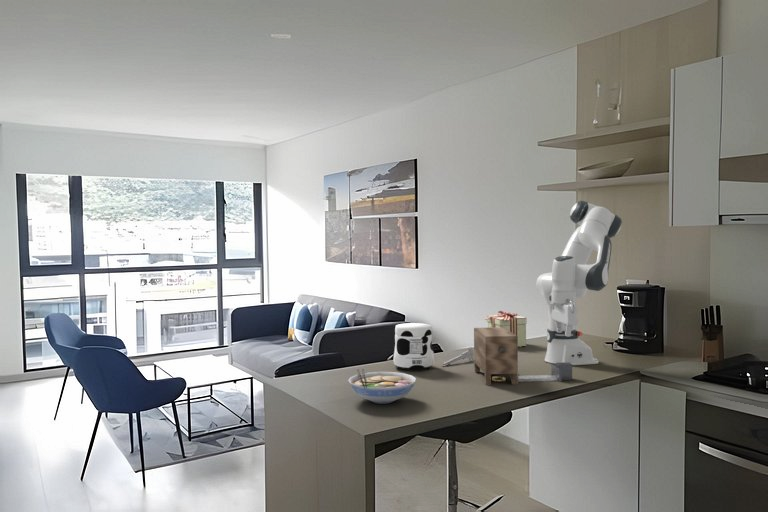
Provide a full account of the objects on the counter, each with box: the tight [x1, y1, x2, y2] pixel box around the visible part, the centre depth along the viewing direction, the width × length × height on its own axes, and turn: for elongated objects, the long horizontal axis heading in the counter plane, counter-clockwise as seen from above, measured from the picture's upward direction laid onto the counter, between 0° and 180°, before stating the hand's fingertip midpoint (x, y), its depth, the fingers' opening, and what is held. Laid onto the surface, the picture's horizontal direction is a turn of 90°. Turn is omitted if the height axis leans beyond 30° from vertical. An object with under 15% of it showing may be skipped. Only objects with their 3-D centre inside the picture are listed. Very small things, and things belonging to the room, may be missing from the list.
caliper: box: [441, 346, 474, 365], centre depth 254 cm, size 20×1×6 cm, turn 131°
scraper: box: [518, 362, 573, 383], centre depth 223 cm, size 22×9×6 cm, turn 92°
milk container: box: [392, 322, 435, 371], centre depth 245 cm, size 17×17×18 cm
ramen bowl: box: [347, 368, 417, 405], centre depth 195 cm, size 25×23×8 cm
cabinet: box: [473, 327, 519, 386], centre depth 226 cm, size 12×23×18 cm, turn 2°
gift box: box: [484, 310, 527, 347], centre depth 295 cm, size 17×18×17 cm
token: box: [491, 375, 506, 383], centre depth 223 cm, size 5×5×1 cm
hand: (563, 334), depth 223 cm, fingers open, 8 cm apart
